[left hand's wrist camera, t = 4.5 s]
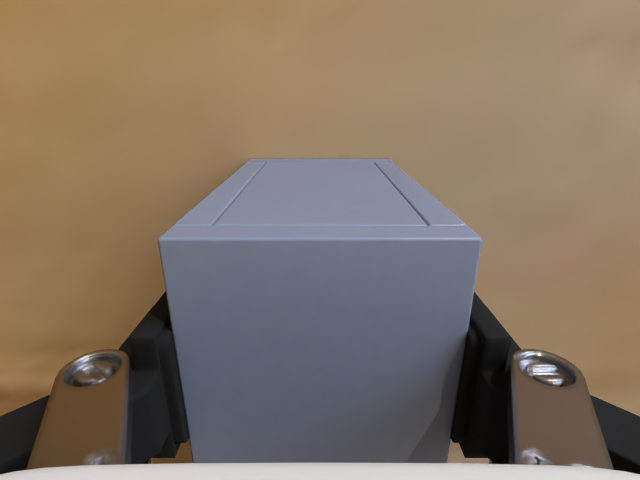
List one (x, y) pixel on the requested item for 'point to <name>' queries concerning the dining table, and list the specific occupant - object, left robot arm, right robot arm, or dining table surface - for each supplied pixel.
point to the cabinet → (319, 314)
